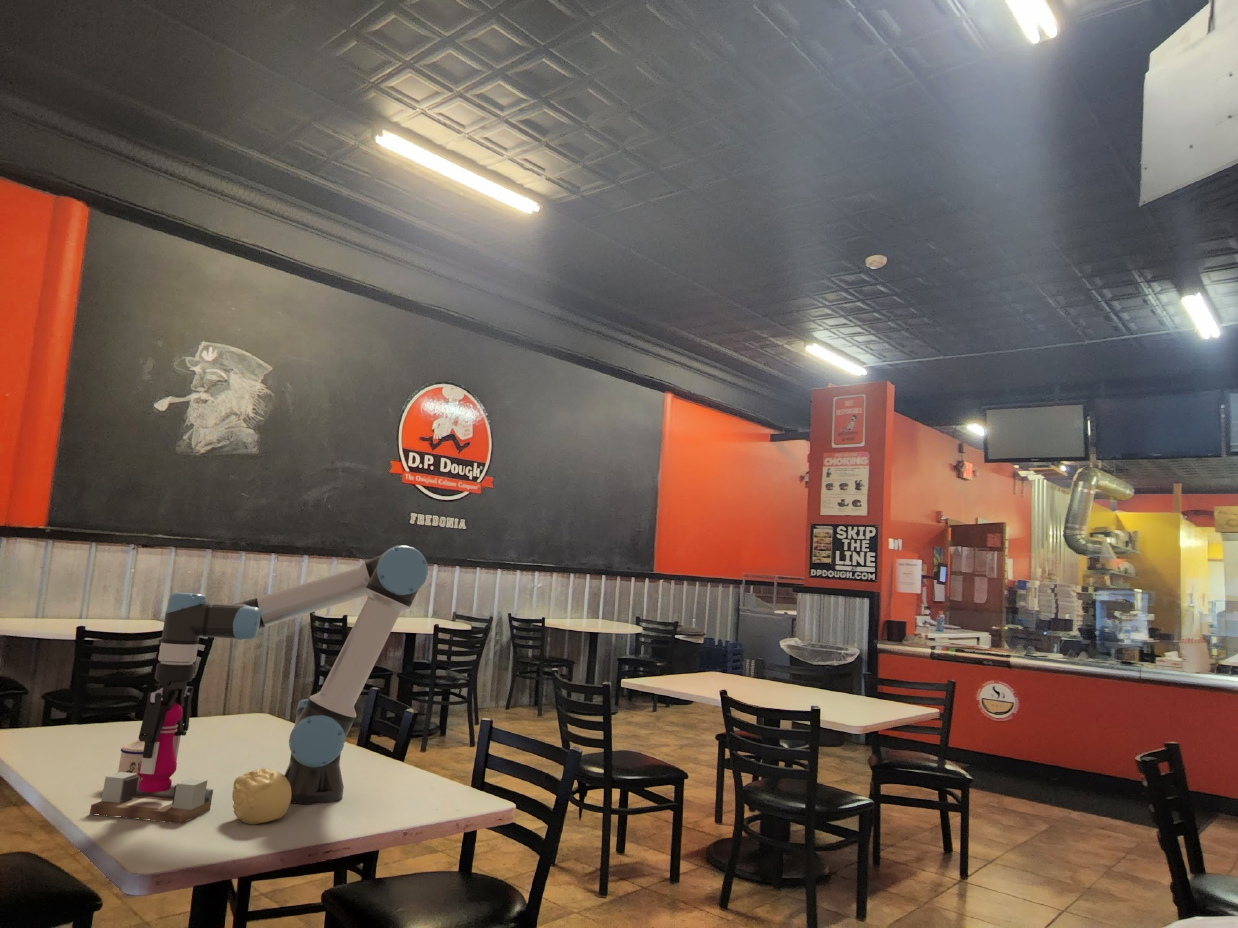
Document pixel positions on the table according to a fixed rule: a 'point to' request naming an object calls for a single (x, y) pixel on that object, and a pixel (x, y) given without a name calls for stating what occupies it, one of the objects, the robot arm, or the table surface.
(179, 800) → the block
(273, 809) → the sculpture
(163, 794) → the steel rail bar
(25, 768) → the table surface
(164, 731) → the pepper mill
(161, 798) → the wooden frame tray
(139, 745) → the teacup with lid
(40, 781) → the table surface
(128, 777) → the finger block
